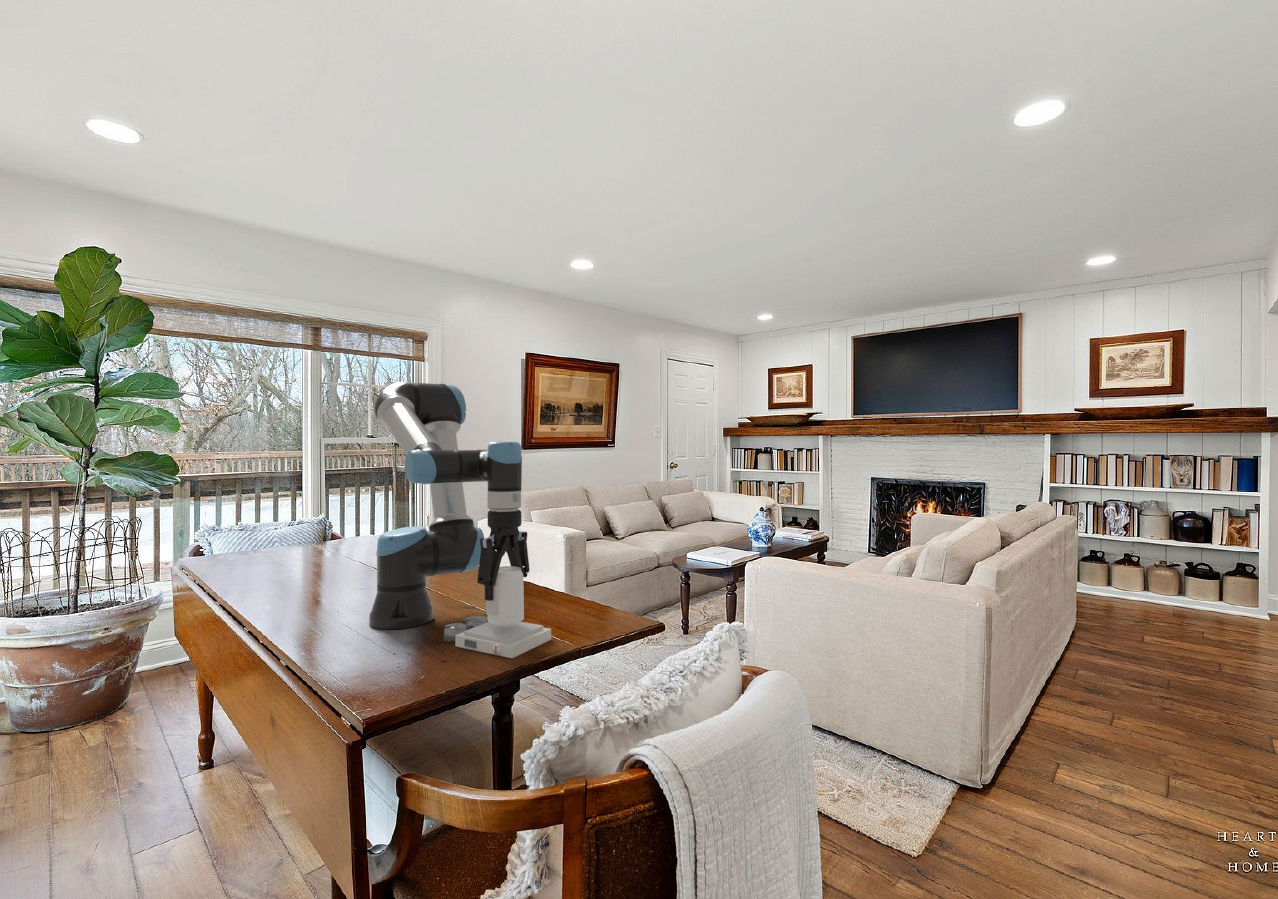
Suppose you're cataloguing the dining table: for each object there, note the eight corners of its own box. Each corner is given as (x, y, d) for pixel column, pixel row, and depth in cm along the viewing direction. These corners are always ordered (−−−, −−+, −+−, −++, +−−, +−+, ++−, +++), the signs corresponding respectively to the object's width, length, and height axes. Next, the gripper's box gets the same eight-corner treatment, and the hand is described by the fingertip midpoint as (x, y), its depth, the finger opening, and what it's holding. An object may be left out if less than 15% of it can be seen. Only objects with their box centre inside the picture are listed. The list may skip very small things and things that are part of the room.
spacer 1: (439, 640, 140) (439, 627, 140) (454, 634, 145) (454, 622, 145) (455, 644, 138) (455, 630, 138) (470, 637, 142) (470, 625, 142)
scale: (453, 647, 135) (453, 632, 135) (497, 629, 148) (497, 616, 148) (510, 659, 128) (510, 643, 128) (551, 639, 141) (551, 625, 141)
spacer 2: (460, 632, 146) (460, 619, 146) (475, 626, 151) (475, 614, 151) (476, 635, 144) (476, 622, 144) (491, 629, 148) (491, 617, 148)
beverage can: (515, 628, 133) (514, 573, 133) (481, 626, 135) (480, 572, 135) (529, 617, 141) (528, 566, 141) (496, 616, 143) (496, 565, 143)
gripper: (486, 514, 127) (486, 623, 127) (545, 506, 146) (545, 601, 146) (459, 513, 131) (459, 619, 131) (520, 504, 149) (520, 597, 149)
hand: (504, 609), depth 138 cm, fingers closed on beverage can, 8 cm apart
